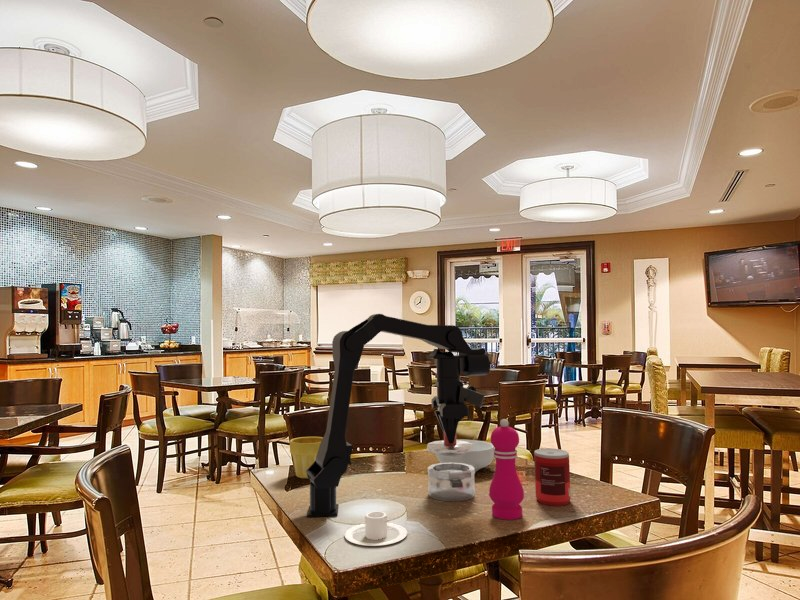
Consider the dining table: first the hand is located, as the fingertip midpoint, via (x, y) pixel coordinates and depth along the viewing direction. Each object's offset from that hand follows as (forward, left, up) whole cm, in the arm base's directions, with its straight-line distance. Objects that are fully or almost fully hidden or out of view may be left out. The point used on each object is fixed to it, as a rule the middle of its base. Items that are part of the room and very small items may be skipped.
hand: (450, 442), depth 128 cm
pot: (0, 0, -12) cm, 12 cm away
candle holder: (-24, +19, -13) cm, 33 cm away
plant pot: (+23, +36, -12) cm, 44 cm away
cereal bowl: (+23, -8, -13) cm, 27 cm away
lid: (0, 0, -2) cm, 2 cm away
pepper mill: (-16, -9, -12) cm, 22 cm away
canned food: (-8, -22, -13) cm, 27 cm away
